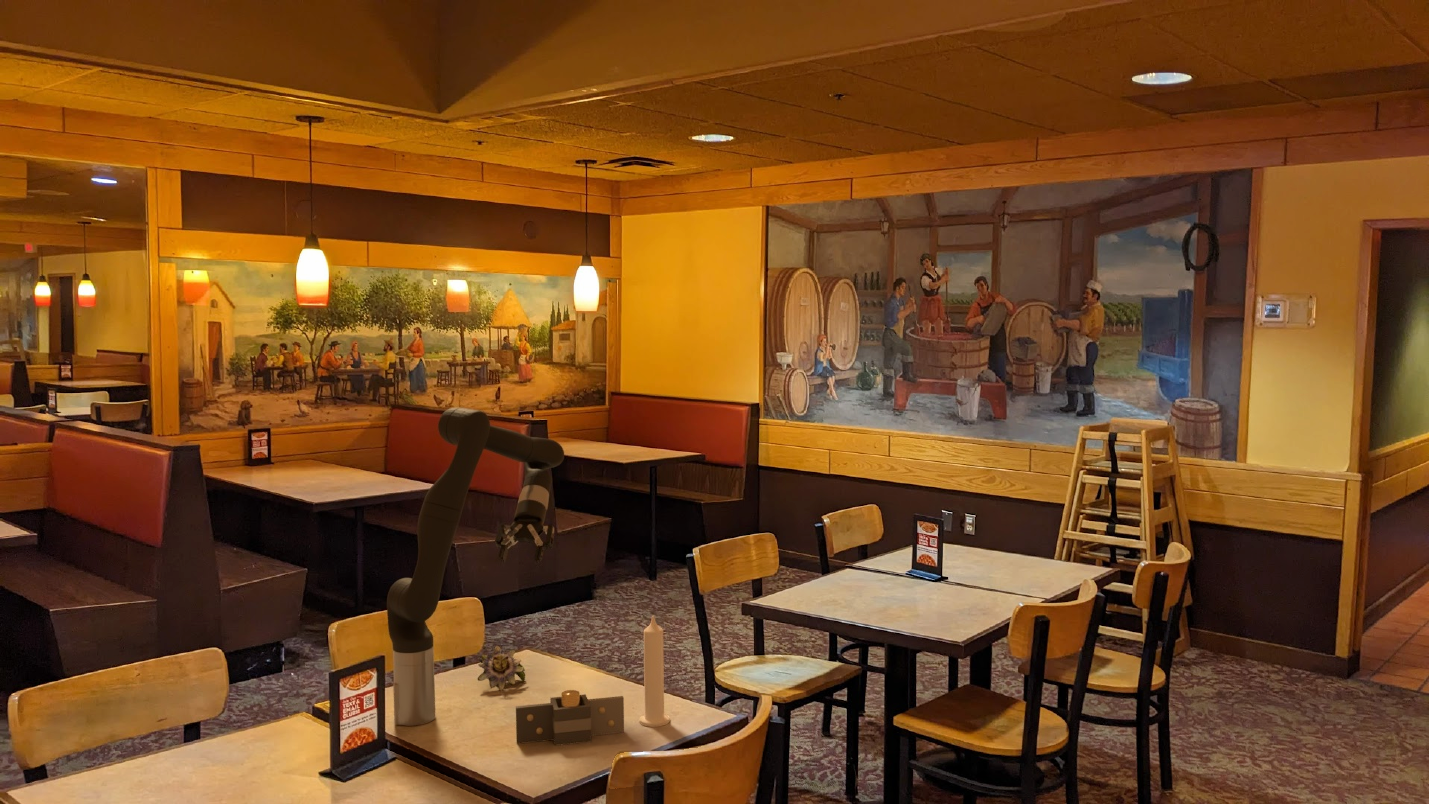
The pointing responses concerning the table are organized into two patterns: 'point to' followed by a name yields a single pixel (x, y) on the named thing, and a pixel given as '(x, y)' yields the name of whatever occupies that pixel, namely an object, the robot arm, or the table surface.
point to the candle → (654, 677)
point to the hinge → (569, 720)
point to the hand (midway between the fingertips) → (519, 561)
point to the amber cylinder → (570, 698)
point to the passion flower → (501, 668)
